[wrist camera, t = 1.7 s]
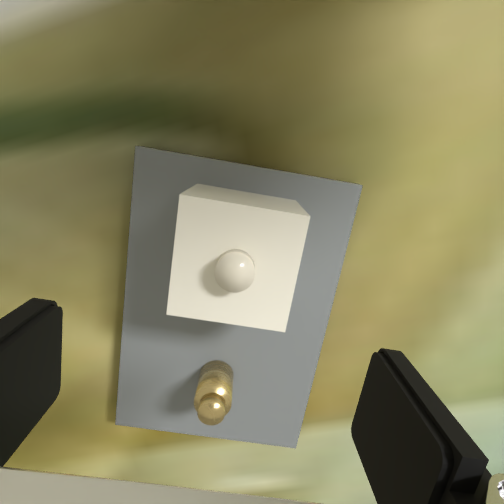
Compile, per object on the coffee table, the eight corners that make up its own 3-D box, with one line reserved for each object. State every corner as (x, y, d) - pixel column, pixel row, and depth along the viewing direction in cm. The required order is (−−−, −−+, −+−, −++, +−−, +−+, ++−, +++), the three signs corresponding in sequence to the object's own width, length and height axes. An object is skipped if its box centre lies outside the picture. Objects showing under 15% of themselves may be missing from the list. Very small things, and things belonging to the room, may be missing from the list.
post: (202, 358, 26) (193, 395, 22) (236, 362, 27) (233, 400, 22) (198, 386, 27) (189, 427, 23) (230, 391, 27) (227, 432, 23)
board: (141, 146, 23) (135, 145, 22) (357, 183, 24) (362, 185, 23) (120, 413, 29) (115, 424, 28) (294, 436, 30) (295, 448, 29)
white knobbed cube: (197, 183, 23) (175, 196, 16) (295, 200, 23) (314, 219, 16) (185, 276, 25) (161, 323, 18) (277, 290, 25) (286, 341, 18)
